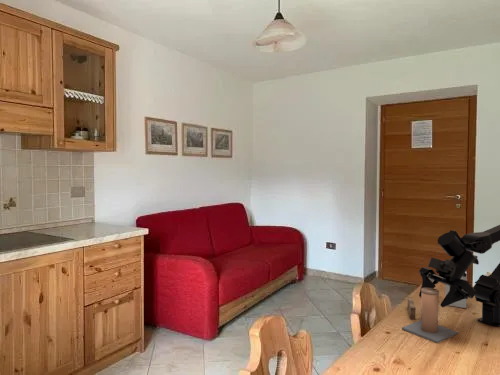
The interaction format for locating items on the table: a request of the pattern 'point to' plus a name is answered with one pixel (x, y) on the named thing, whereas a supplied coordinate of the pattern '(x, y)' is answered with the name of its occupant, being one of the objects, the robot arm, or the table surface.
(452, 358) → the table surface
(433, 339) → the dark grey mat
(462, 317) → the table surface
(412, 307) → the walnut rail
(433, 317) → the terracotta jar
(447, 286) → the supplement box
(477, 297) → the robot arm
